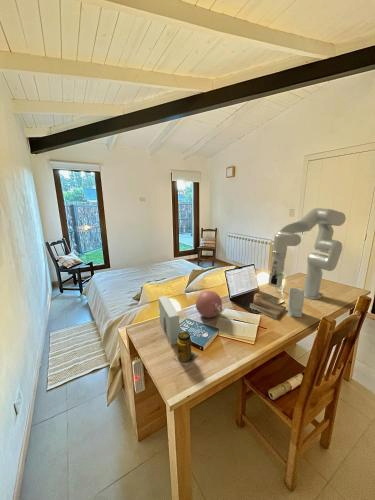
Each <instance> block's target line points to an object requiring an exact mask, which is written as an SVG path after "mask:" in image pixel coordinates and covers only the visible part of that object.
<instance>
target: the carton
mask: <svg viewBox="0 0 375 500" xmlns="http://www.w3.org/2000/svg"><path fill="white" fill-rule="evenodd" d="M275 273H276V272H275ZM275 276H276V274H275ZM283 277H284V273H283V272H282V273H281V274H279V275H277V284H276V285H275V284H271V279H272V273H271V271H270V272H269V277H268V278H269V279H268V283H267V284H268V286H271V287H275V288H277V289H278V288H281V287H282V283H283V279H284V278H283Z"/></svg>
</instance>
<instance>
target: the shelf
mask: <svg viewBox="0 0 375 500" xmlns="http://www.w3.org/2000/svg"><path fill="white" fill-rule="evenodd" d="M250 308H251V310H253V309H254V310H253V311H255V310H257V311H259V312H258V313H260V312H261V313H260V314H262V315H265V316H268V317H270V318H272V319H275V320H277V319H278V318H279V317H280V316H281V315H282V314H283V313H284V312H285V311H286V310H287V306H285V305H281V304H279V303H277V302H273V301H271V300H269V299H266V298H263V297H262V299H261V305H260V306H256V305H254V304H253V302H252V303H249V309H250ZM257 311H256V312H257Z"/></svg>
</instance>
